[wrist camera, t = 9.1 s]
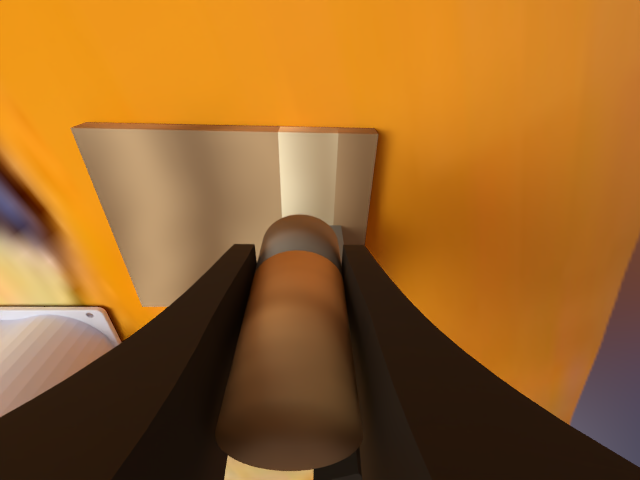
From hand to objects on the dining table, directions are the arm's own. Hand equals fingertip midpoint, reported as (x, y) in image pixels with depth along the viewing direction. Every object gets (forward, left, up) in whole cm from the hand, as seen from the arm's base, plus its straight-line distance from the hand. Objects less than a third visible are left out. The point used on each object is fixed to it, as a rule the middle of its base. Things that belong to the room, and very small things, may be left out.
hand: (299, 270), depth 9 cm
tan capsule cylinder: (0, 0, -1) cm, 1 cm away
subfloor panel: (-4, -4, -9) cm, 11 cm away
